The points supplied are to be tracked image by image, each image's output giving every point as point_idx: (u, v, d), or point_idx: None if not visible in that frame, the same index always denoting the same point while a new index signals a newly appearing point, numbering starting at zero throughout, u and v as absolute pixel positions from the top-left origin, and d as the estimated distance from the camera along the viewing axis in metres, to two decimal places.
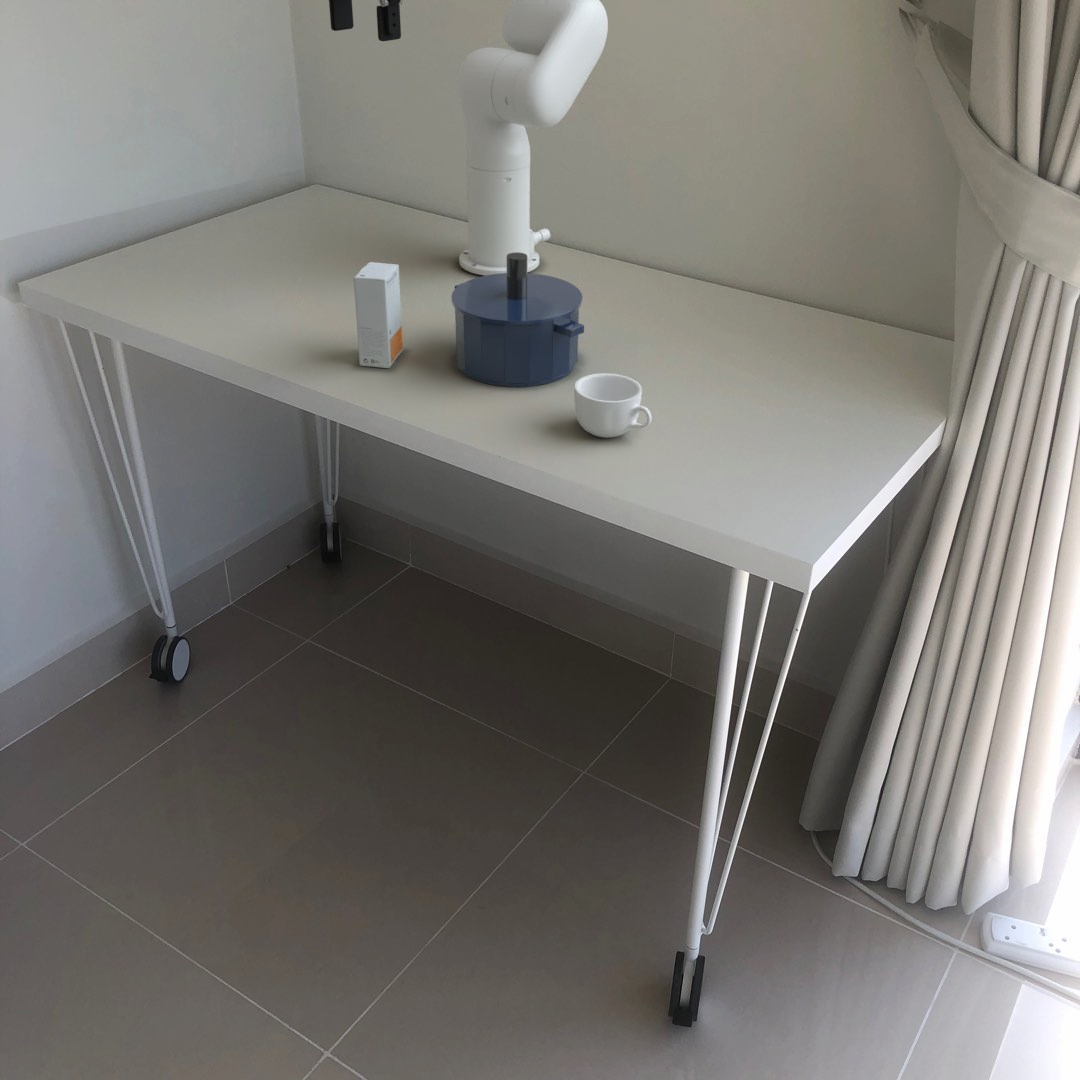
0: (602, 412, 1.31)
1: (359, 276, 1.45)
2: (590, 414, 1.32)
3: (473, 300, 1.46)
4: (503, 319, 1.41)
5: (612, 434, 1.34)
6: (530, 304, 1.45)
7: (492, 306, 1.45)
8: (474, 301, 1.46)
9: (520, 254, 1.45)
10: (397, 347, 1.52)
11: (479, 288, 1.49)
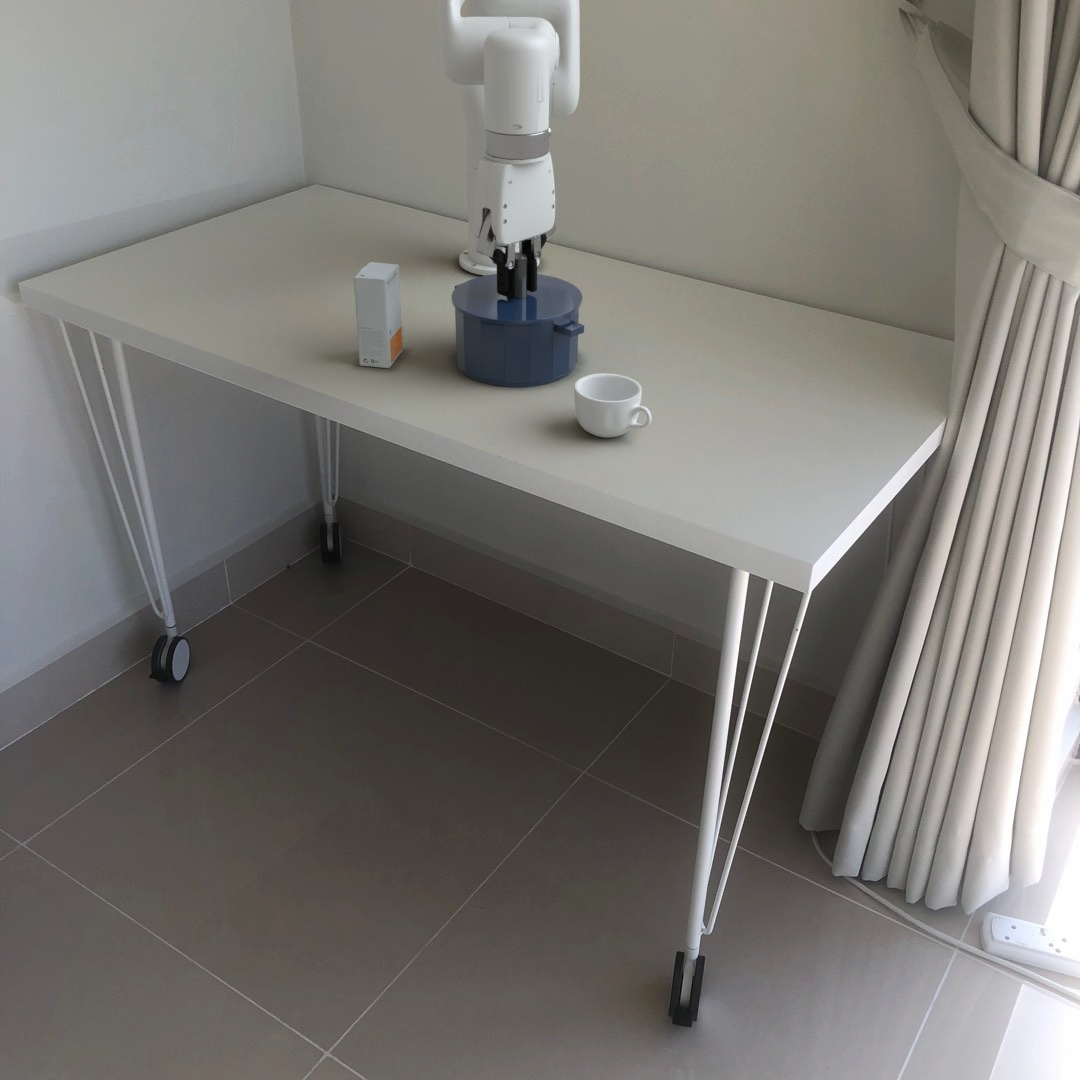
0: (602, 412, 1.31)
1: (359, 276, 1.45)
2: (590, 414, 1.32)
3: (473, 300, 1.46)
4: (503, 319, 1.41)
5: (612, 434, 1.34)
6: (530, 304, 1.45)
7: (492, 306, 1.45)
8: (474, 301, 1.46)
9: (520, 254, 1.45)
10: (397, 347, 1.52)
11: (480, 288, 1.50)
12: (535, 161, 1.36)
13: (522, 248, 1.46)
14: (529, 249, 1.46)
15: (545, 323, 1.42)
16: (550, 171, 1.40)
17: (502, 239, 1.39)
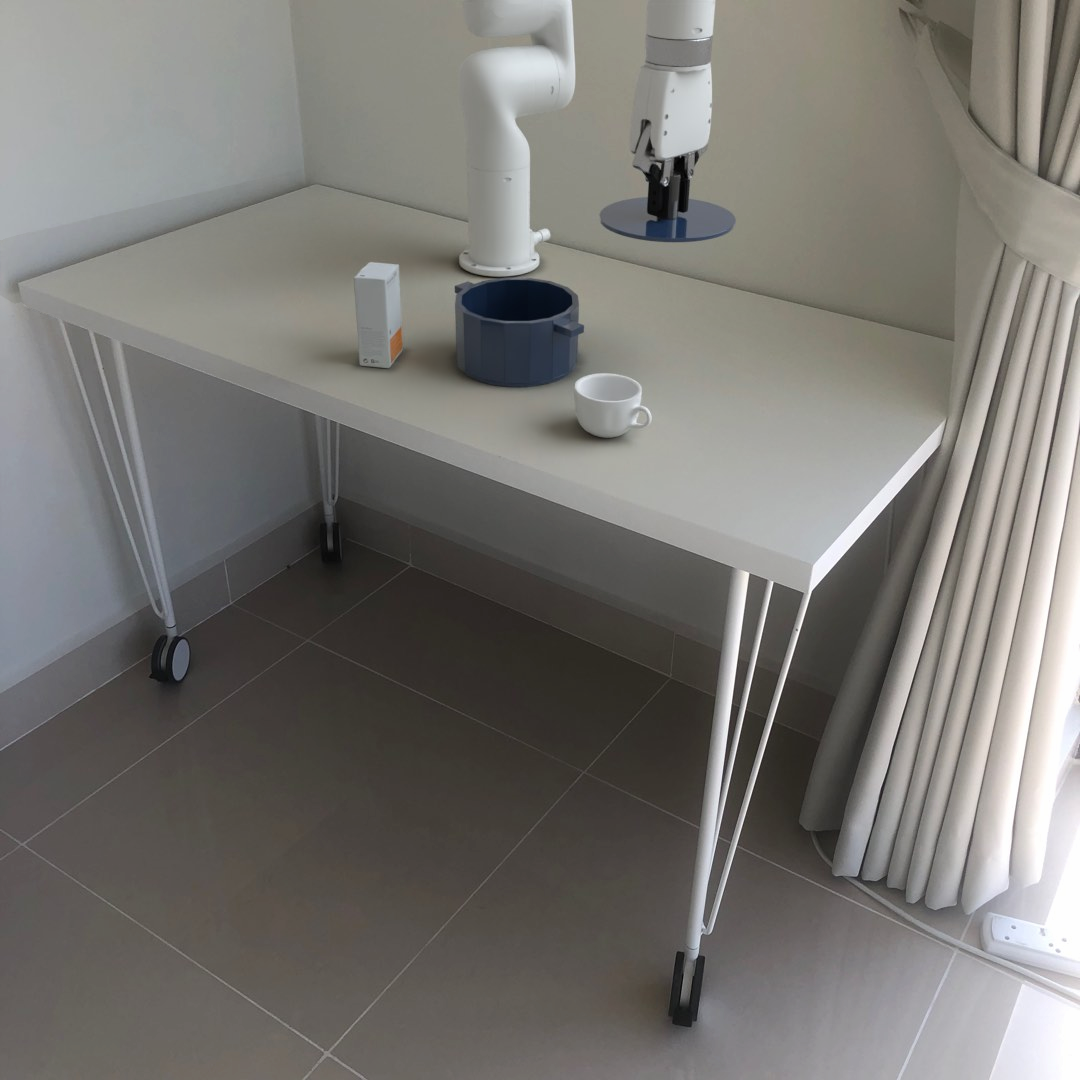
0: (602, 412, 1.31)
1: (359, 276, 1.45)
2: (590, 414, 1.32)
3: (623, 220, 1.41)
4: (660, 237, 1.36)
5: (612, 434, 1.34)
6: (683, 224, 1.40)
7: (645, 225, 1.39)
8: (624, 221, 1.40)
9: (673, 172, 1.40)
10: (397, 347, 1.52)
11: (626, 210, 1.44)
12: (699, 69, 1.30)
13: (674, 166, 1.41)
14: (681, 167, 1.40)
15: (545, 323, 1.42)
16: (709, 82, 1.35)
17: (661, 152, 1.34)
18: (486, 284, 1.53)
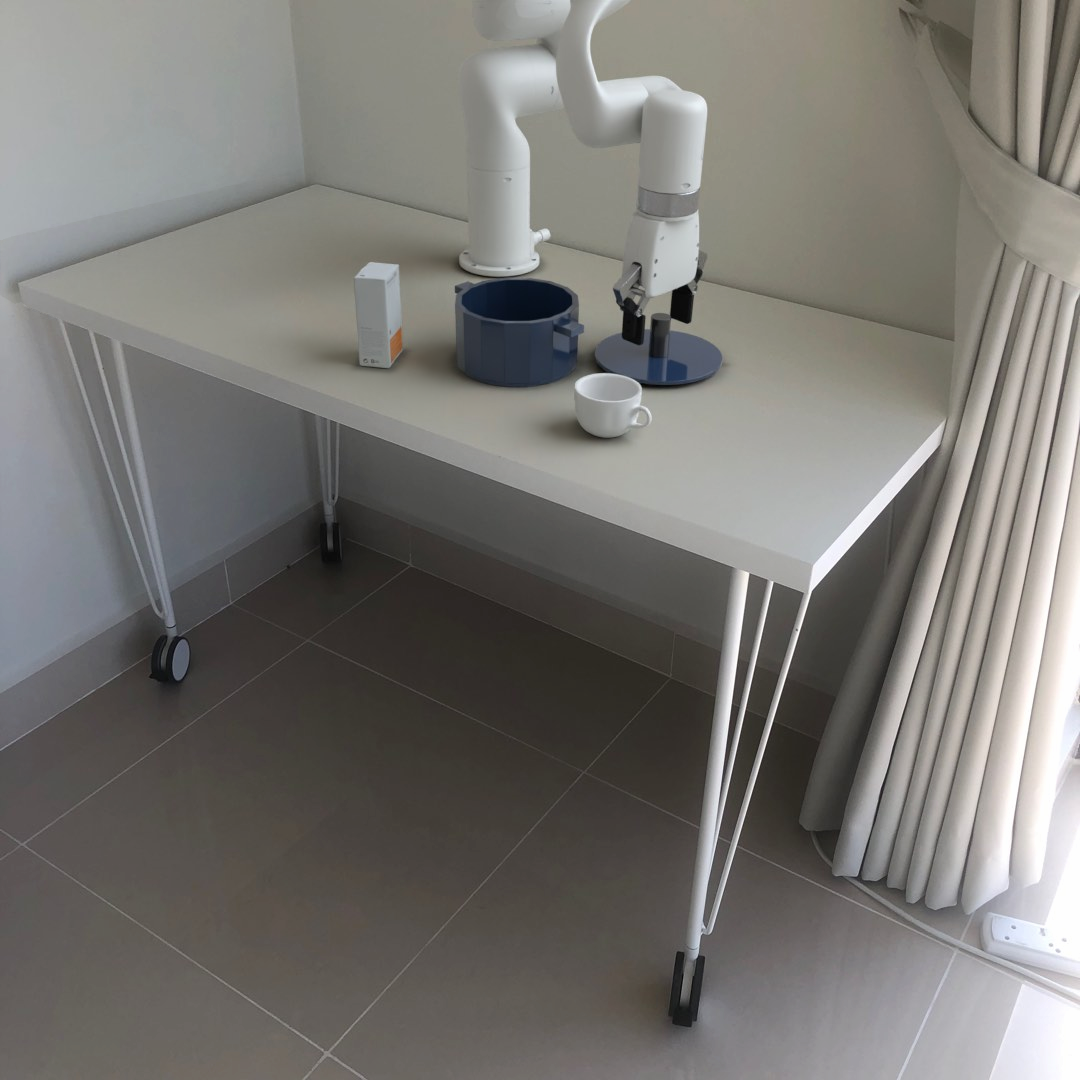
0: (602, 412, 1.31)
1: (359, 276, 1.45)
2: (590, 414, 1.32)
3: (617, 359, 1.51)
4: (651, 379, 1.46)
5: (612, 434, 1.34)
6: (673, 363, 1.50)
7: (637, 365, 1.49)
8: (618, 360, 1.50)
9: (664, 315, 1.50)
10: (397, 347, 1.52)
11: (620, 346, 1.54)
12: (687, 218, 1.40)
13: None
14: None
15: (545, 323, 1.42)
16: (697, 226, 1.44)
17: (651, 292, 1.43)
18: (486, 284, 1.53)
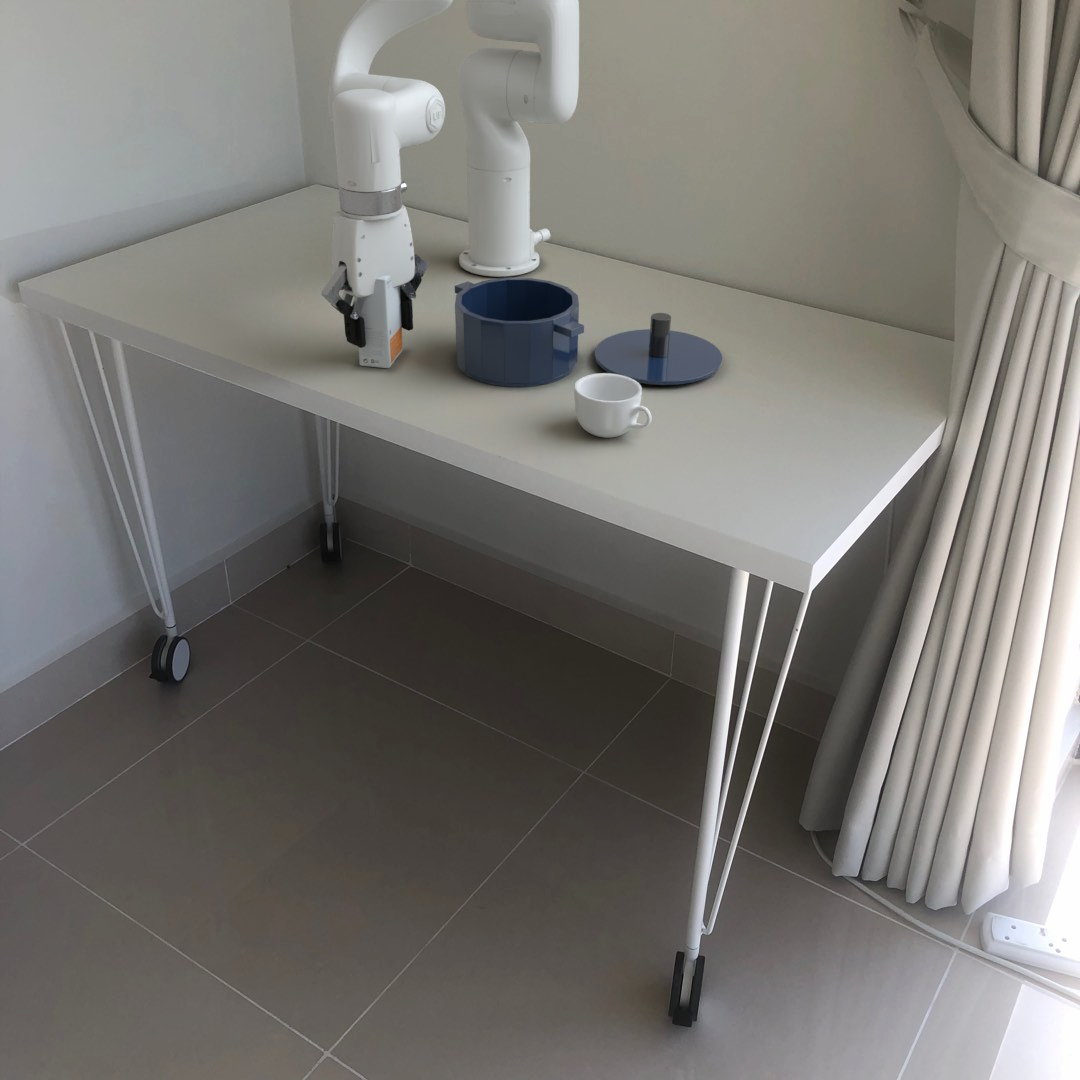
0: (602, 412, 1.31)
1: None
2: (590, 414, 1.32)
3: (617, 359, 1.51)
4: (651, 379, 1.46)
5: (612, 434, 1.34)
6: (673, 363, 1.50)
7: (637, 365, 1.49)
8: (618, 360, 1.50)
9: (664, 315, 1.50)
10: (397, 347, 1.52)
11: (620, 346, 1.54)
12: (387, 217, 1.40)
13: None
14: None
15: (545, 323, 1.42)
16: (406, 225, 1.44)
17: (358, 291, 1.43)
18: (486, 284, 1.53)
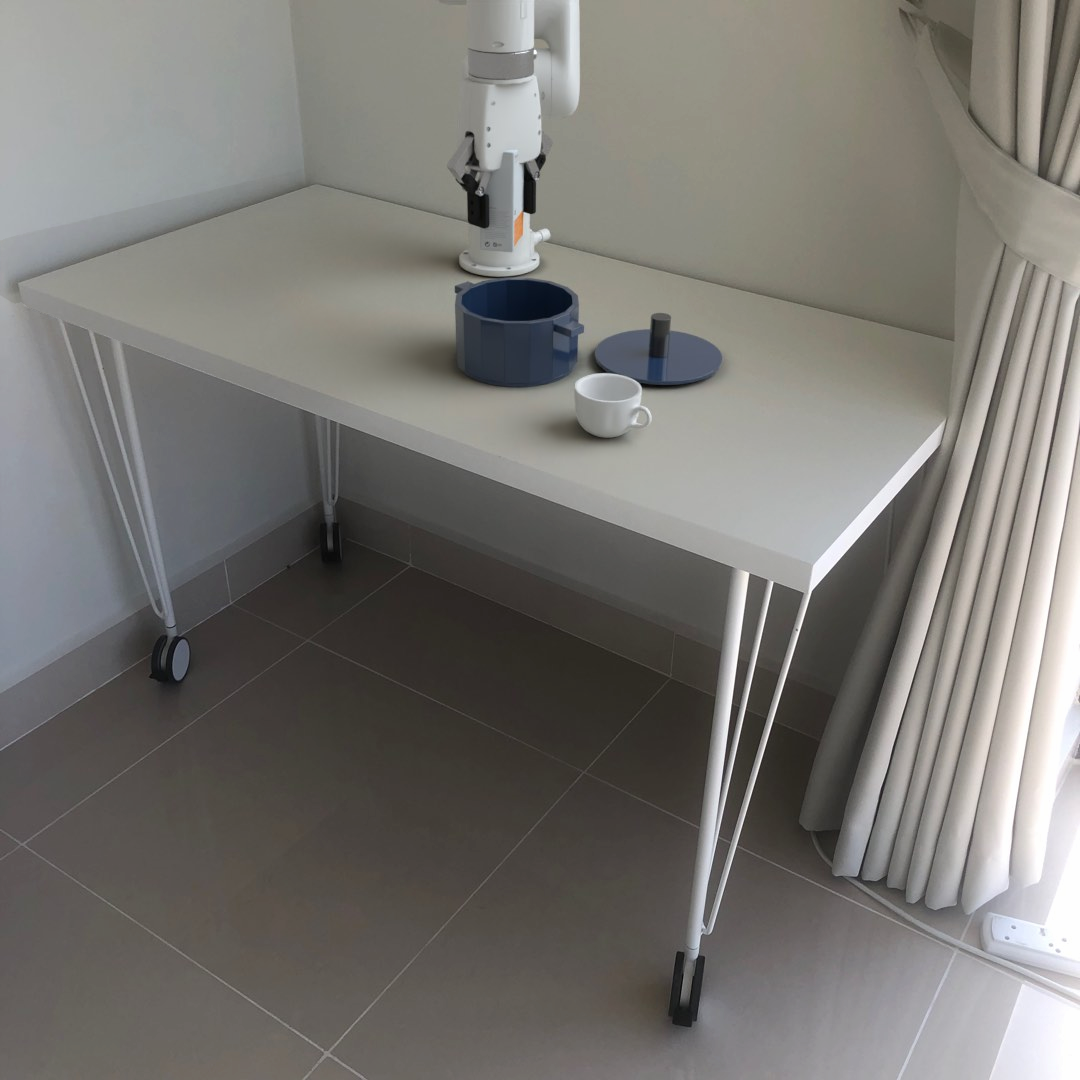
0: (602, 412, 1.31)
1: None
2: (590, 414, 1.32)
3: (617, 359, 1.51)
4: (651, 379, 1.46)
5: (612, 434, 1.34)
6: (673, 363, 1.50)
7: (637, 365, 1.49)
8: (618, 360, 1.50)
9: (664, 315, 1.50)
10: (519, 231, 1.43)
11: (620, 346, 1.54)
12: (519, 81, 1.31)
13: None
14: (528, 169, 1.42)
15: (545, 323, 1.42)
16: (536, 94, 1.35)
17: (486, 164, 1.34)
18: (486, 284, 1.53)
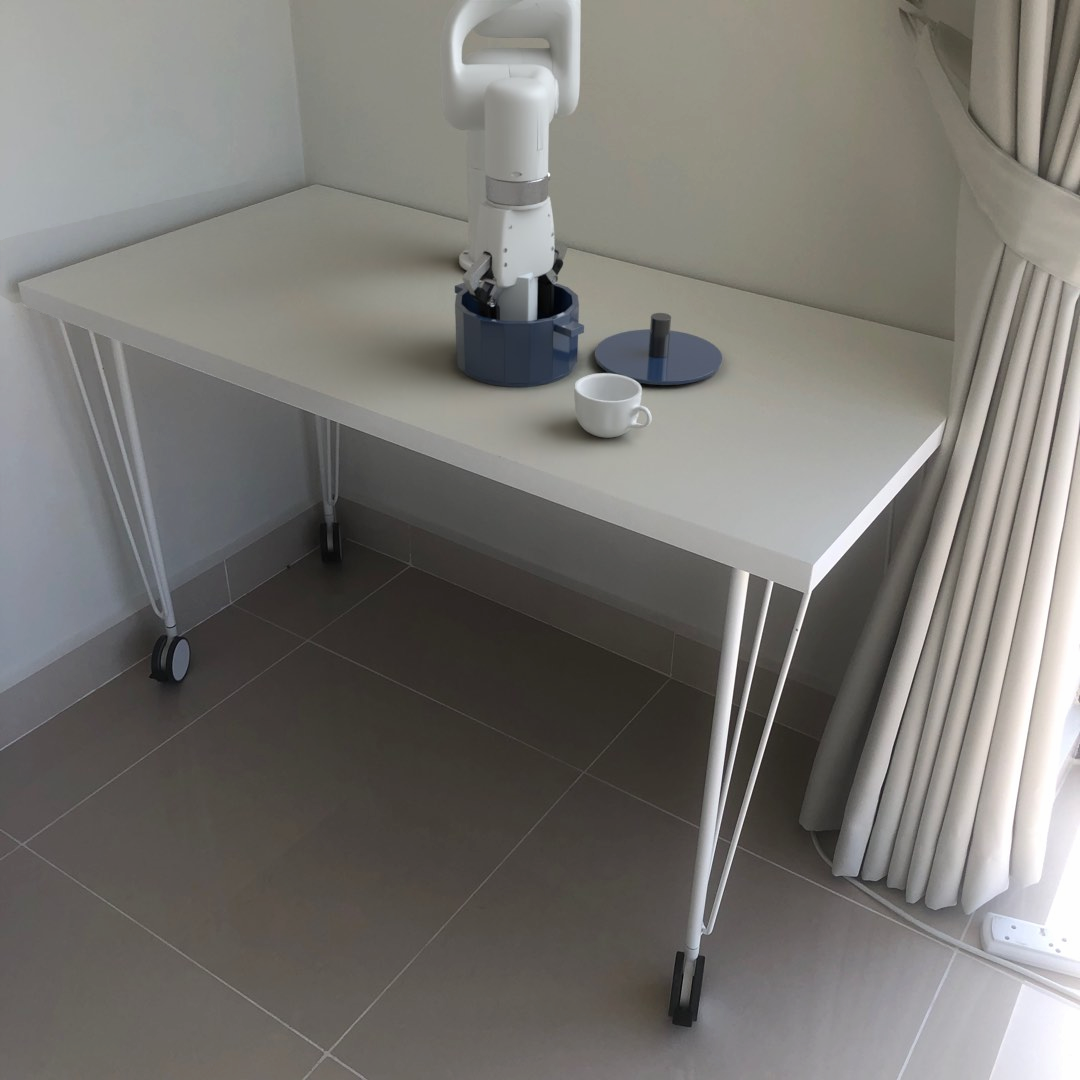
0: (602, 412, 1.31)
1: None
2: (590, 414, 1.32)
3: (617, 359, 1.51)
4: (651, 379, 1.46)
5: (612, 434, 1.34)
6: (673, 363, 1.50)
7: (637, 365, 1.49)
8: (618, 360, 1.50)
9: (664, 315, 1.50)
10: None
11: (620, 346, 1.54)
12: (535, 207, 1.39)
13: (538, 276, 1.51)
14: None
15: (545, 323, 1.42)
16: (549, 215, 1.43)
17: (502, 282, 1.42)
18: None
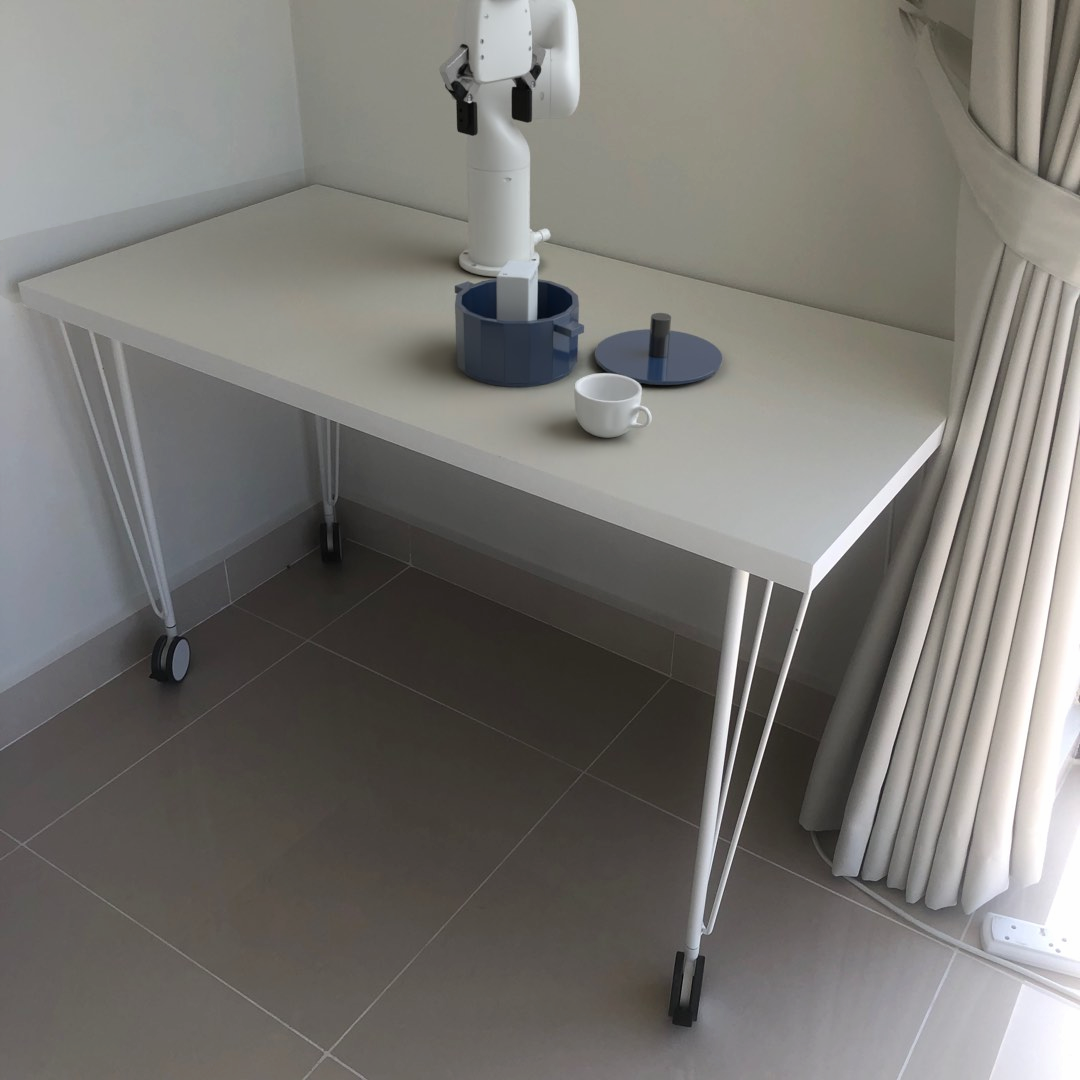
0: (602, 412, 1.31)
1: (502, 274, 1.44)
2: (590, 414, 1.32)
3: (617, 359, 1.51)
4: (651, 379, 1.46)
5: (612, 434, 1.34)
6: (673, 363, 1.50)
7: (637, 365, 1.49)
8: (618, 360, 1.50)
9: (664, 315, 1.50)
10: None
11: (620, 346, 1.54)
12: None
13: (517, 82, 1.51)
14: None
15: (545, 323, 1.42)
16: (526, 11, 1.43)
17: (479, 76, 1.42)
18: (486, 284, 1.53)
